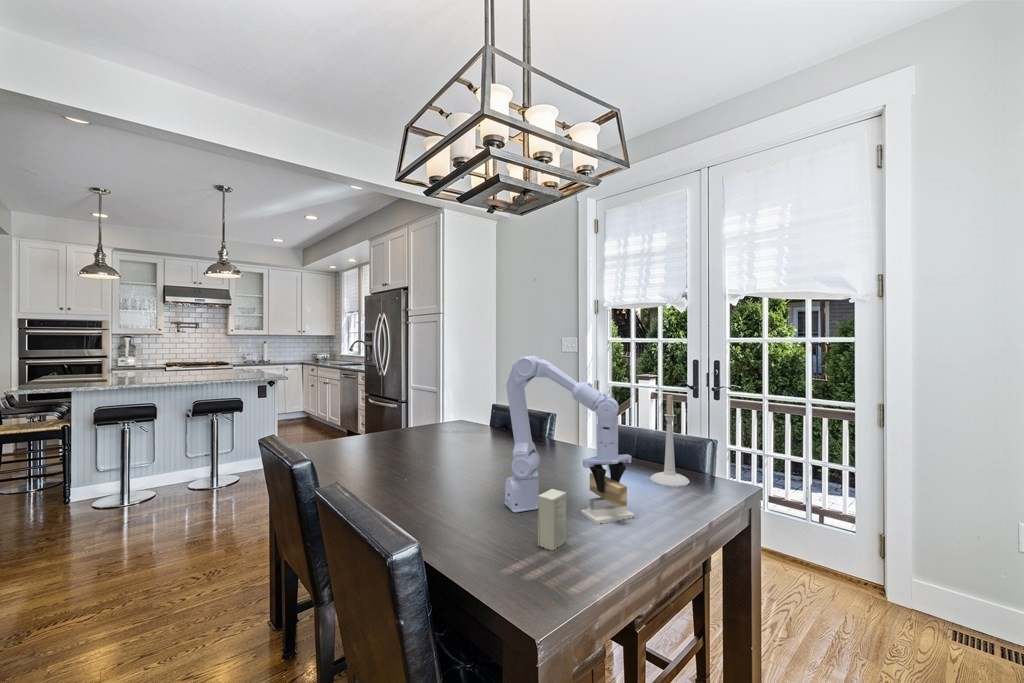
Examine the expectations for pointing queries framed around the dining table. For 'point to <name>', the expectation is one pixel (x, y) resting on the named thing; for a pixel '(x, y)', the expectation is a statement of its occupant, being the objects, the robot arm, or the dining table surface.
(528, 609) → the dining table surface
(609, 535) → the dining table surface
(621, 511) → the ridge stand
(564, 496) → the skincare box
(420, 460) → the dining table surface
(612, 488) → the oak bar
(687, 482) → the candlestick
